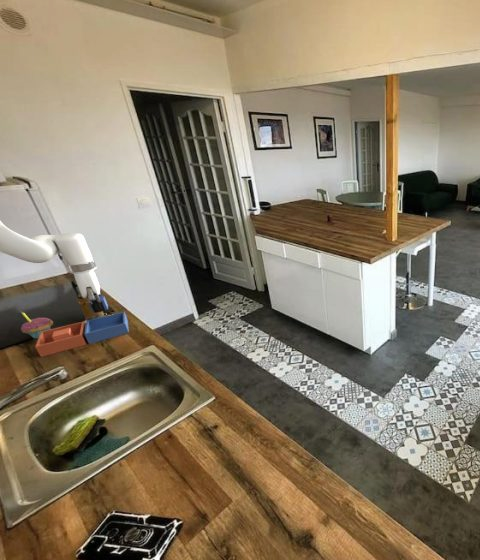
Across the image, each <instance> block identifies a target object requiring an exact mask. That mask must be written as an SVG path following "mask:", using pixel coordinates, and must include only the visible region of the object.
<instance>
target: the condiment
mask: <svg viewBox="0 0 480 560" xmlns="http://www.w3.org/2000/svg"><path fill="white" fill-rule="evenodd" d="M77 299H78V305H79V307H80V309H81V311H82V314H83V316H84V320H83V321H84V323H85V324H86V321H88V320H92V319H96V318H100V317H104V314H106V315H107V313H104V311H101V312H97V313H93V312H92V310H91V308H90V306H89V303H88V302H89V298H88V295H87V297H86V298H82V295H81V293H79V294H78V295H77Z"/></svg>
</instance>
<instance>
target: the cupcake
mask: <svg viewBox="0 0 480 560" xmlns="http://www.w3.org/2000/svg"><path fill="white" fill-rule="evenodd" d="M20 313H21V315H22V316H23V317H24V318H25V319H26V321H25V322H24V323H23V324H22V325H21V327H20V331H21V332H22V333H23V334H27V335H29V336H30V337H32V338H33V339H38V338H39V336H40V333H41V332H42V331H46V330H50V329H51V328H52V326H53V325H54V321H53V320H52V319H50V317H36V318H32V319H31V318H29V317H28V315H26V313H25V312H22V311H20Z"/></svg>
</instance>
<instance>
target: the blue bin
mask: <svg viewBox="0 0 480 560" xmlns="http://www.w3.org/2000/svg"><path fill="white" fill-rule="evenodd" d="M85 325H86V327H85V337H86V339H87V343H88V344H89V345H90V344H94V343H97V342H102V341H105V340H108V339H111V338H116V337H119V336H123V335H126V334H129V333H130V330H129V320H128V317H127V314H126V312H125V311H121V312H117V313H113V314H112V315H108V316H104V317H100V318H96V319H92V320H88V321H86V323H85Z"/></svg>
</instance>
